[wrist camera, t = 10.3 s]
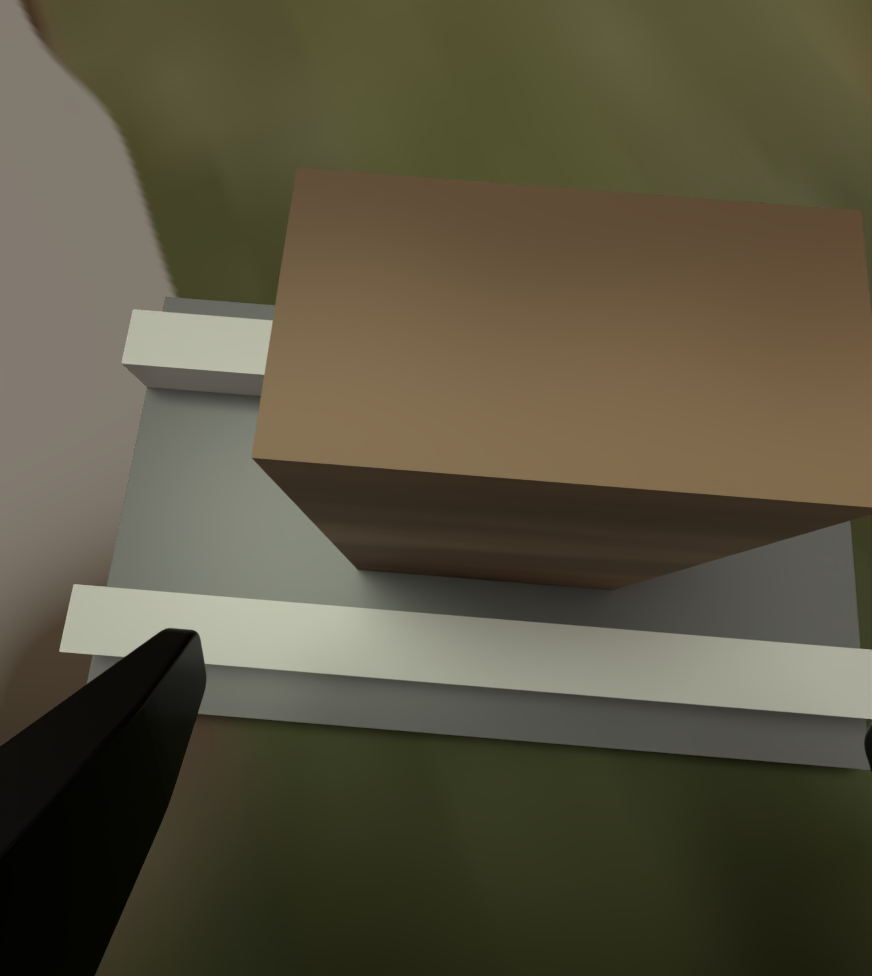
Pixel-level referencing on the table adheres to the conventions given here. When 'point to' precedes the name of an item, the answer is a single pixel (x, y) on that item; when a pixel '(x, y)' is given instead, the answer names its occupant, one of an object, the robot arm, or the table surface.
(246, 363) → the track board
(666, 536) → the wooden block
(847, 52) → the table surface
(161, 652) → the robot arm
